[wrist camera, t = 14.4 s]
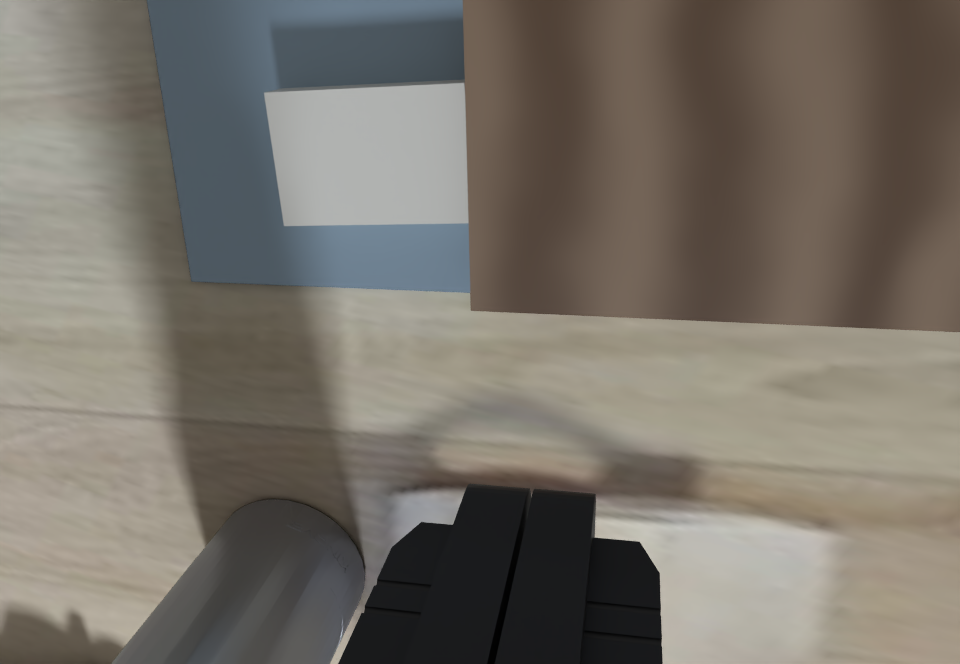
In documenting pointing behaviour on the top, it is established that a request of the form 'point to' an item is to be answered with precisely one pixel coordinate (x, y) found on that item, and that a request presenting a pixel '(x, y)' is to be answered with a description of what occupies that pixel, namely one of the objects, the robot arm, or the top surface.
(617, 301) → the deck
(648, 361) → the top surface
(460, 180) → the white rectangular block
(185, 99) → the mat
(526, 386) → the top surface
